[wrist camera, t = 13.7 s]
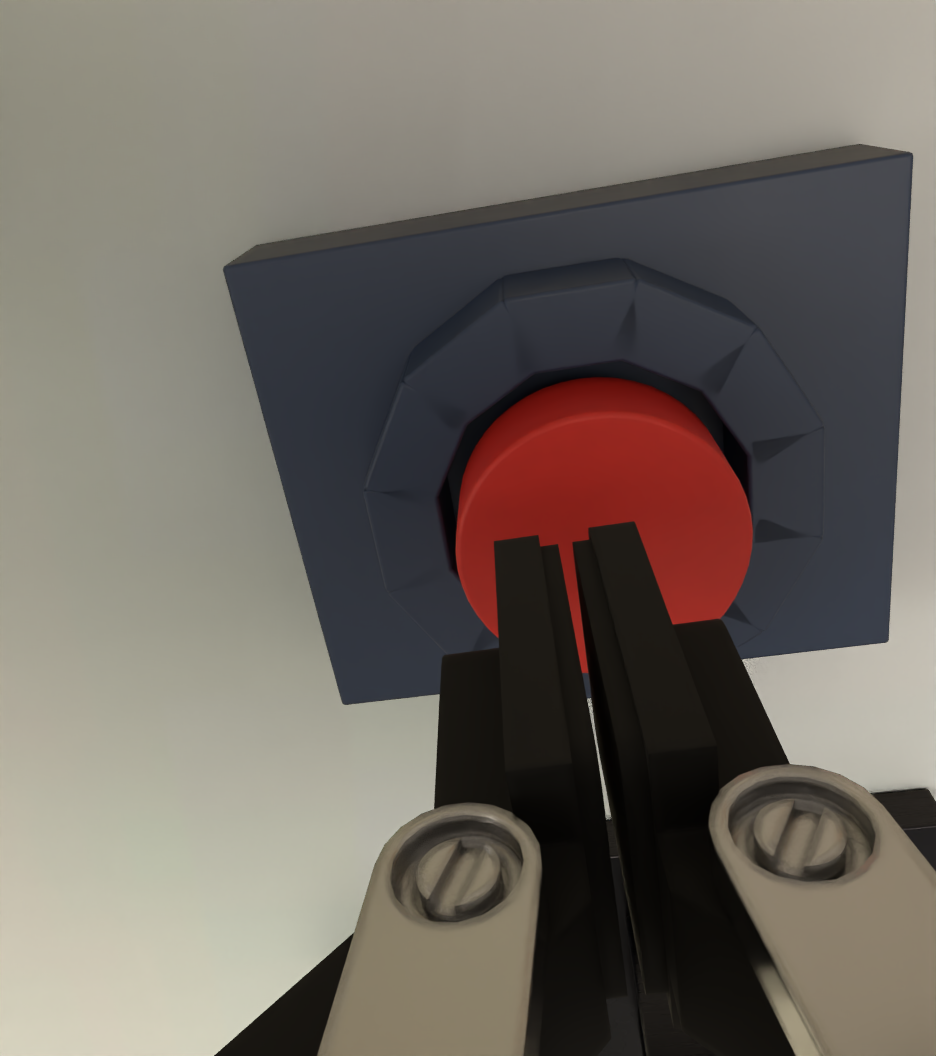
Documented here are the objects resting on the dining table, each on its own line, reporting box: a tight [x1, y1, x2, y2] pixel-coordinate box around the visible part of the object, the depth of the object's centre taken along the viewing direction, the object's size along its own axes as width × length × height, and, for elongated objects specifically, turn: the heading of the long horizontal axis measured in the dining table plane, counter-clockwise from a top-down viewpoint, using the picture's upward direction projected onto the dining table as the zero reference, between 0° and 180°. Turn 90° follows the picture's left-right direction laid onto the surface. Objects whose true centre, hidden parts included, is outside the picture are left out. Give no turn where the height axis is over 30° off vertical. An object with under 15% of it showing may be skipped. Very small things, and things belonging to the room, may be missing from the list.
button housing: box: [223, 144, 913, 705], centre depth 16 cm, size 11×9×4 cm
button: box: [455, 377, 753, 673], centre depth 14 cm, size 4×4×2 cm
